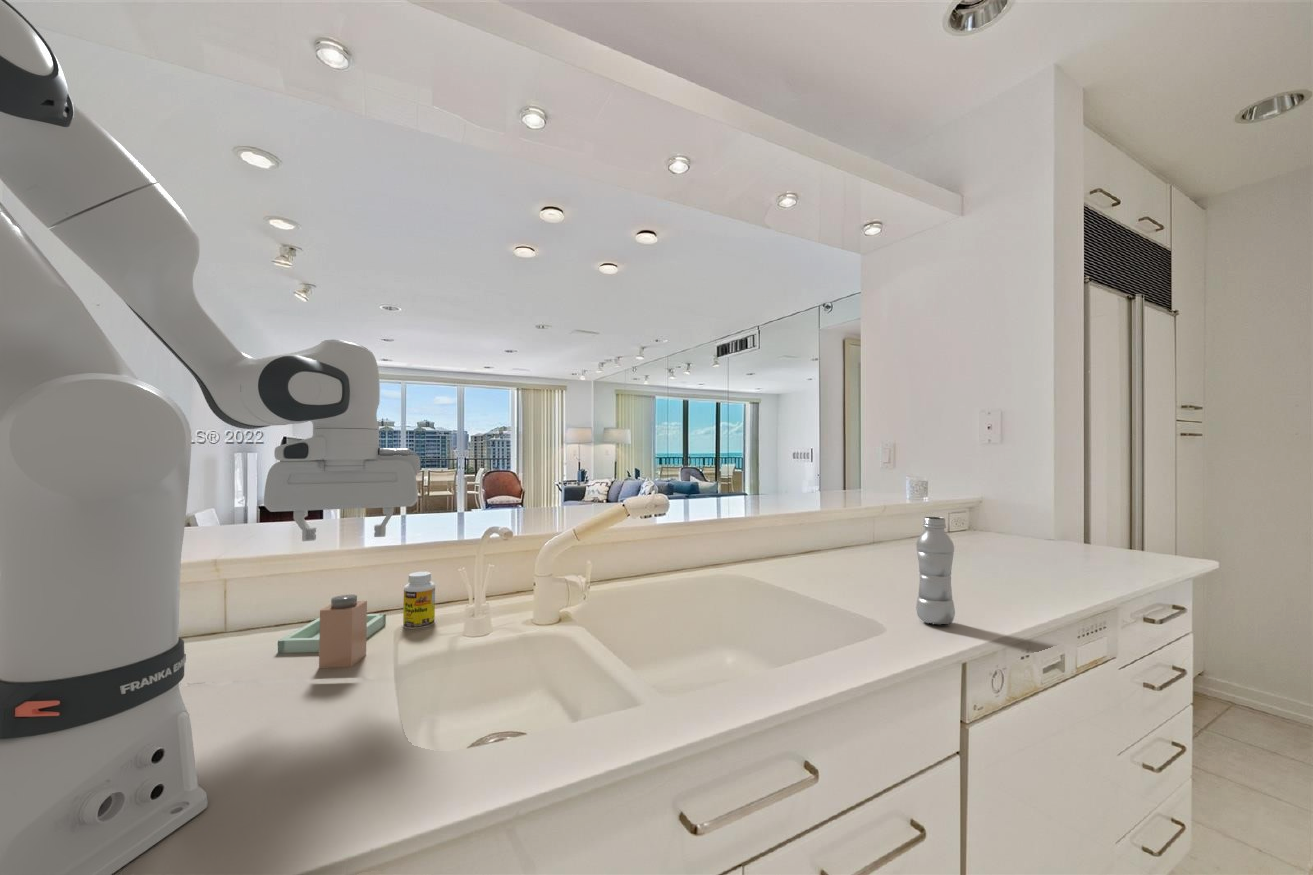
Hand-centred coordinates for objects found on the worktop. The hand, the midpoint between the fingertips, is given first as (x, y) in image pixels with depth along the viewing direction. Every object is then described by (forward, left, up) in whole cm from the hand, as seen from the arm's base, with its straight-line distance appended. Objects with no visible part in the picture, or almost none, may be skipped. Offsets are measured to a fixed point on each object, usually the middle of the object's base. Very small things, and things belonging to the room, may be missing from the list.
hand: (345, 538), depth 80 cm
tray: (+10, +7, -19) cm, 23 cm away
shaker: (0, 0, -19) cm, 19 cm away
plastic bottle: (+12, -102, -19) cm, 104 cm away
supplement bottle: (+17, -5, -19) cm, 26 cm away
